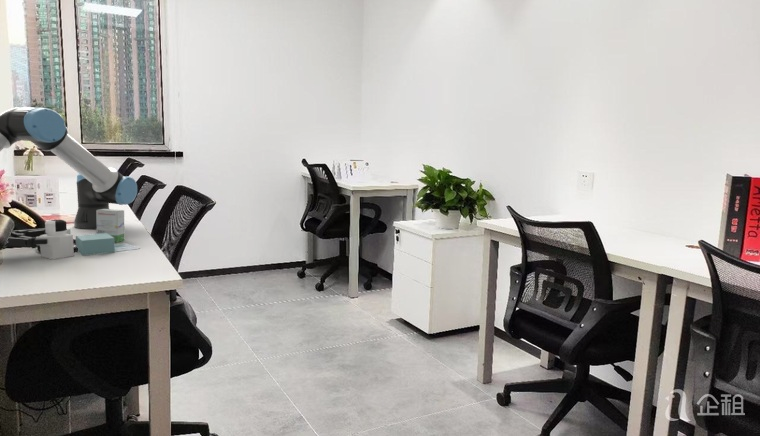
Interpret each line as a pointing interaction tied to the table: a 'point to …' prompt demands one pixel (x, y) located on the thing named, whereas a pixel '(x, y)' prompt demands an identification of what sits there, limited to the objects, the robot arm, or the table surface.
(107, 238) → the base brick
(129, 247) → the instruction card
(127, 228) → the table surface
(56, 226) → the grey stepped block
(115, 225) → the ink box
